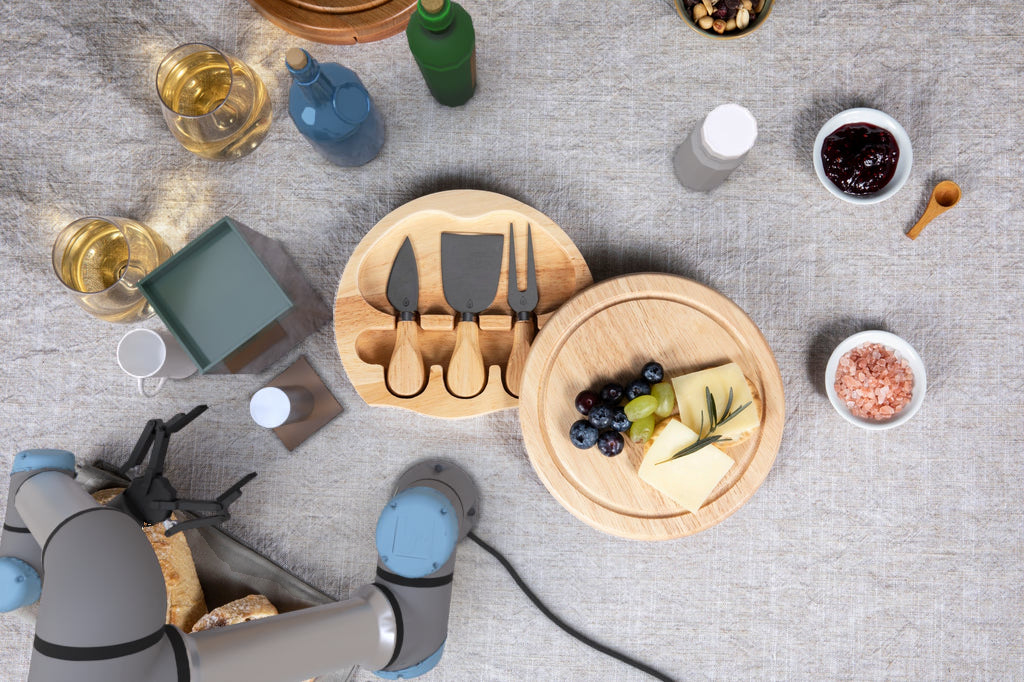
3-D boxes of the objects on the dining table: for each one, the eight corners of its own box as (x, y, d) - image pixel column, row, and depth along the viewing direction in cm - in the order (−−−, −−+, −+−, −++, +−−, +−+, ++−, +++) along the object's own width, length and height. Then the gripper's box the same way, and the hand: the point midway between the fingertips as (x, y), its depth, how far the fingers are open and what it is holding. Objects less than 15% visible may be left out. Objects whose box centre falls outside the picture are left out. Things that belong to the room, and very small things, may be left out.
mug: (188, 402, 119) (150, 405, 107) (143, 387, 119) (101, 389, 107) (209, 339, 119) (174, 335, 107) (164, 325, 119) (124, 319, 107)
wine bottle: (306, 160, 120) (235, 91, 90) (325, 91, 121) (259, -2, 91) (379, 178, 120) (332, 113, 90) (397, 108, 121) (356, 20, 91)
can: (321, 407, 118) (298, 411, 106) (291, 430, 118) (265, 436, 106) (299, 377, 118) (274, 378, 106) (269, 400, 118) (241, 403, 106)
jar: (722, 196, 119) (758, 165, 101) (668, 188, 119) (694, 155, 101) (730, 143, 119) (767, 103, 101) (676, 135, 119) (703, 93, 101)
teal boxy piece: (333, 316, 119) (293, 304, 98) (257, 374, 119) (201, 374, 98) (277, 242, 120) (226, 214, 99) (202, 299, 120) (134, 284, 99)
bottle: (493, 75, 121) (484, -14, 93) (462, 124, 120) (444, 50, 92) (444, 45, 121) (420, -53, 93) (412, 94, 121) (379, 10, 93)
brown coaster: (344, 410, 118) (343, 410, 118) (290, 451, 118) (289, 451, 117) (304, 356, 119) (303, 356, 118) (250, 397, 119) (249, 397, 118)
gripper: (93, 455, 111) (194, 378, 111) (179, 576, 110) (282, 498, 110) (61, 461, 103) (171, 378, 104) (154, 591, 102) (264, 507, 102)
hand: (228, 440), depth 107 cm, fingers open, 13 cm apart
